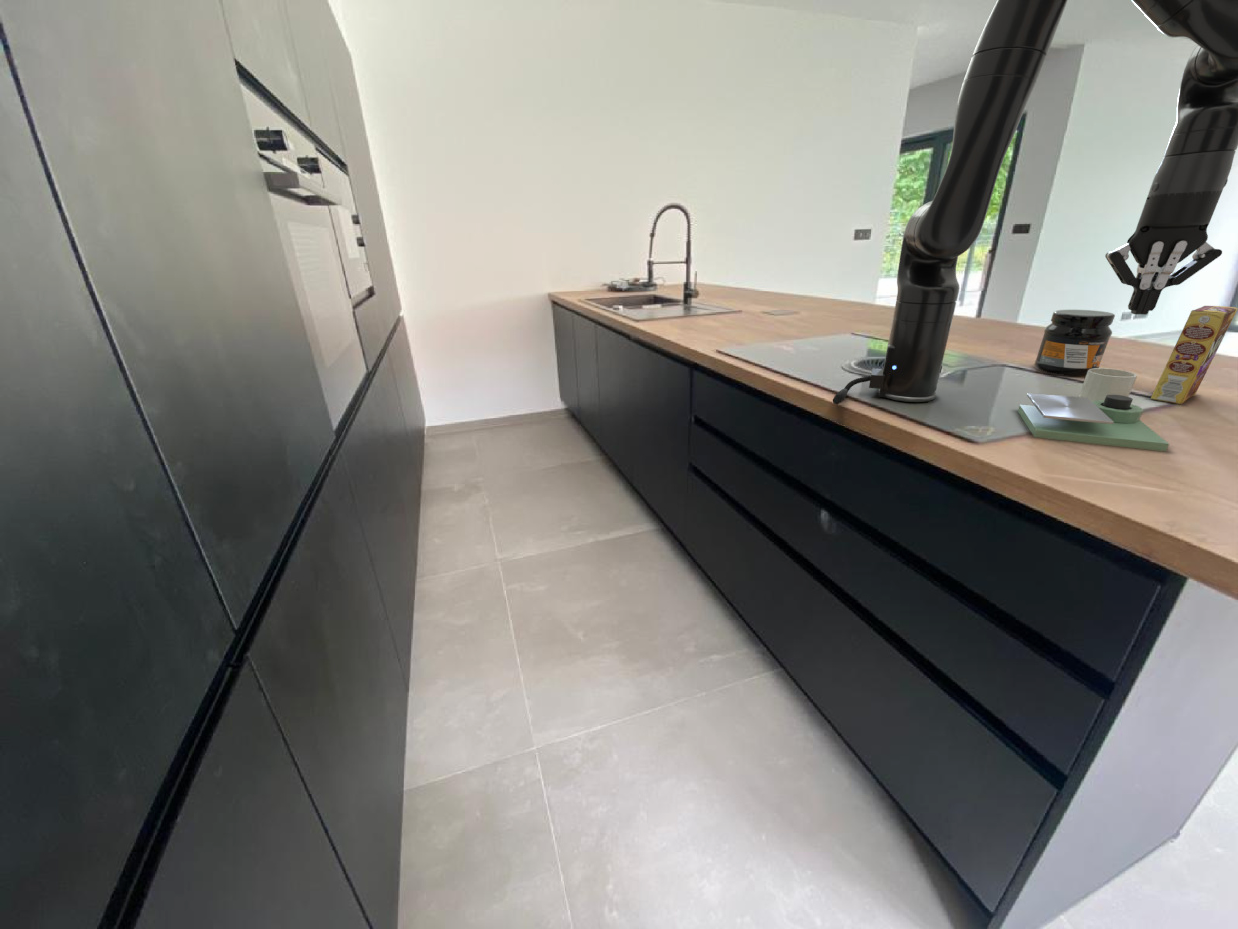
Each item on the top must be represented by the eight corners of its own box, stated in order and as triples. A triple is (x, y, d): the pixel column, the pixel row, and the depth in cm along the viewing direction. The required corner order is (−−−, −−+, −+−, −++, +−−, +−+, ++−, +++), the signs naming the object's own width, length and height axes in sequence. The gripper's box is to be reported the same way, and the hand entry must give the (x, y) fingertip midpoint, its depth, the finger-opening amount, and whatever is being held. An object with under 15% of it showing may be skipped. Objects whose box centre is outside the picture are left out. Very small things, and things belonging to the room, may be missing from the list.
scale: (1034, 437, 75) (1040, 418, 73) (1017, 410, 85) (1022, 393, 84) (1165, 451, 68) (1175, 431, 67) (1129, 420, 79) (1136, 402, 78)
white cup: (1083, 406, 86) (1094, 375, 84) (1073, 396, 91) (1083, 366, 88) (1130, 410, 83) (1143, 378, 81) (1117, 400, 88) (1129, 369, 86)
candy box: (1184, 405, 85) (1226, 312, 78) (1149, 399, 88) (1187, 309, 81) (1198, 395, 89) (1239, 306, 83) (1164, 390, 92) (1201, 304, 86)
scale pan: (1043, 417, 74) (1044, 415, 73) (1026, 395, 83) (1027, 393, 83) (1112, 424, 70) (1114, 421, 70) (1087, 400, 80) (1087, 397, 80)
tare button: (1105, 410, 77) (1110, 399, 76) (1099, 404, 79) (1103, 393, 78) (1131, 412, 75) (1136, 401, 75) (1124, 406, 78) (1128, 395, 77)
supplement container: (1072, 379, 100) (1093, 318, 95) (1020, 367, 110) (1037, 311, 105) (1109, 374, 103) (1132, 313, 98) (1056, 363, 112) (1074, 307, 107)
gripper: (1236, 188, 73) (1185, 311, 80) (1116, 195, 78) (1078, 309, 86) (1265, 185, 67) (1207, 318, 74) (1133, 193, 72) (1091, 316, 80)
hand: (1138, 313), depth 80 cm, fingers closed
